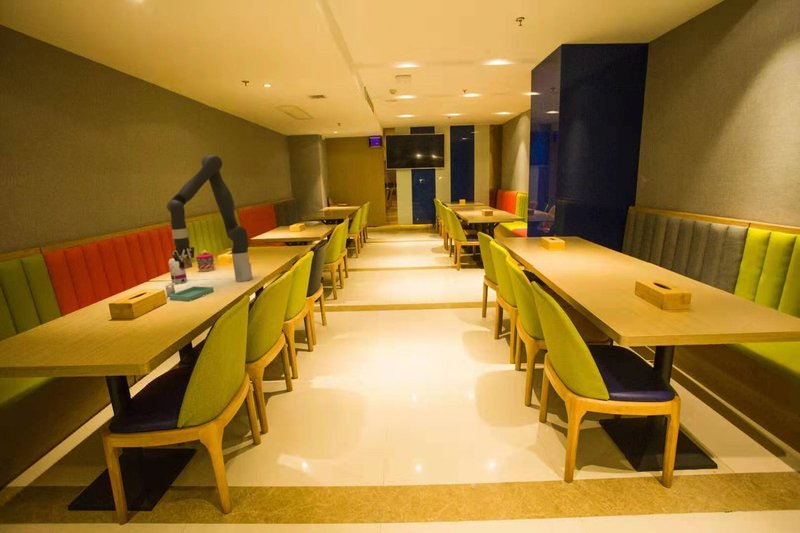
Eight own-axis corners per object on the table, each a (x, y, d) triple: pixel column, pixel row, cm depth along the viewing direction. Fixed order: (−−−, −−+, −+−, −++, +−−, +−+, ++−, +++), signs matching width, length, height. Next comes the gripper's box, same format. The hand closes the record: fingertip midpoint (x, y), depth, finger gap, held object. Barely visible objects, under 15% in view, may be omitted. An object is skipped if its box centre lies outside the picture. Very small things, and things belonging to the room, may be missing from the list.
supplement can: (189, 280, 255) (185, 257, 251) (181, 284, 247) (177, 260, 243) (177, 280, 255) (173, 257, 252) (169, 284, 247) (164, 260, 244)
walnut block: (186, 266, 230) (184, 258, 229) (192, 266, 229) (190, 258, 227) (179, 268, 226) (178, 259, 225) (185, 268, 224) (184, 260, 223)
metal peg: (171, 295, 224) (169, 284, 223) (177, 295, 223) (175, 285, 222) (165, 297, 221) (163, 286, 219) (171, 297, 219) (169, 287, 218)
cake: (218, 269, 282) (215, 248, 279) (204, 272, 274) (200, 251, 270) (209, 268, 288) (206, 247, 284) (195, 271, 279) (191, 250, 276)
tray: (195, 290, 231) (194, 286, 230) (213, 291, 227) (213, 287, 226) (170, 300, 215) (169, 295, 214) (189, 301, 211) (188, 296, 210)
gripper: (175, 239, 215) (180, 270, 219) (196, 234, 228) (201, 264, 232) (164, 239, 218) (170, 270, 222) (186, 234, 231) (191, 264, 235)
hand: (186, 267), depth 227 cm, fingers closed on walnut block, 4 cm apart
